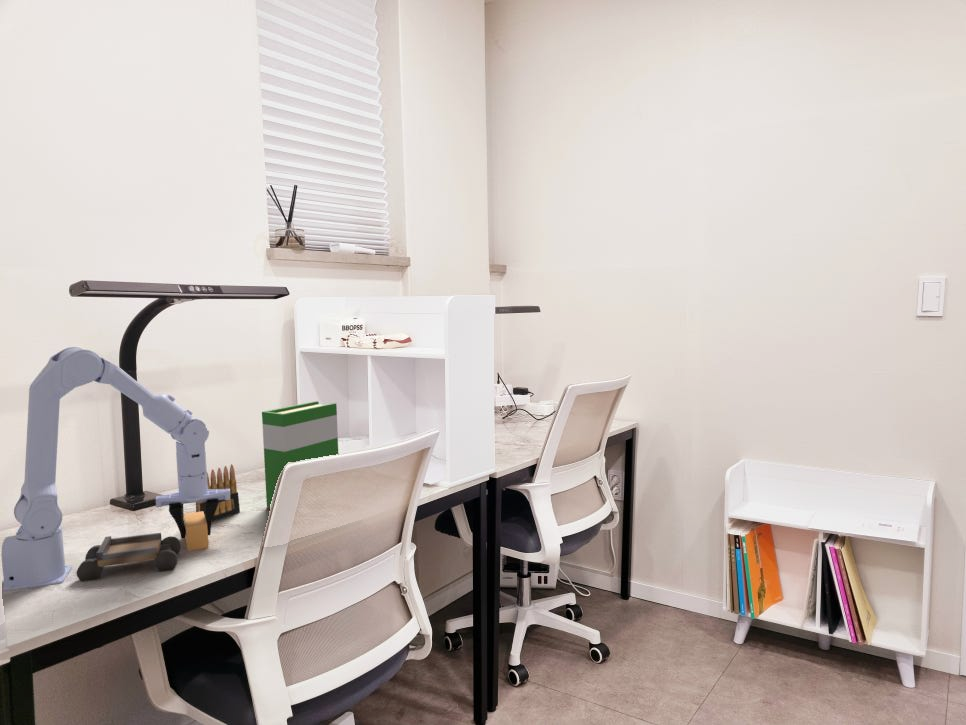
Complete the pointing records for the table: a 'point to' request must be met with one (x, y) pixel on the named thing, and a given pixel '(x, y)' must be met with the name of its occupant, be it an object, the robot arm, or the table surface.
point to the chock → (196, 530)
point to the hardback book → (297, 437)
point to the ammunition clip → (224, 506)
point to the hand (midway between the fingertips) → (196, 535)
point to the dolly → (130, 554)
